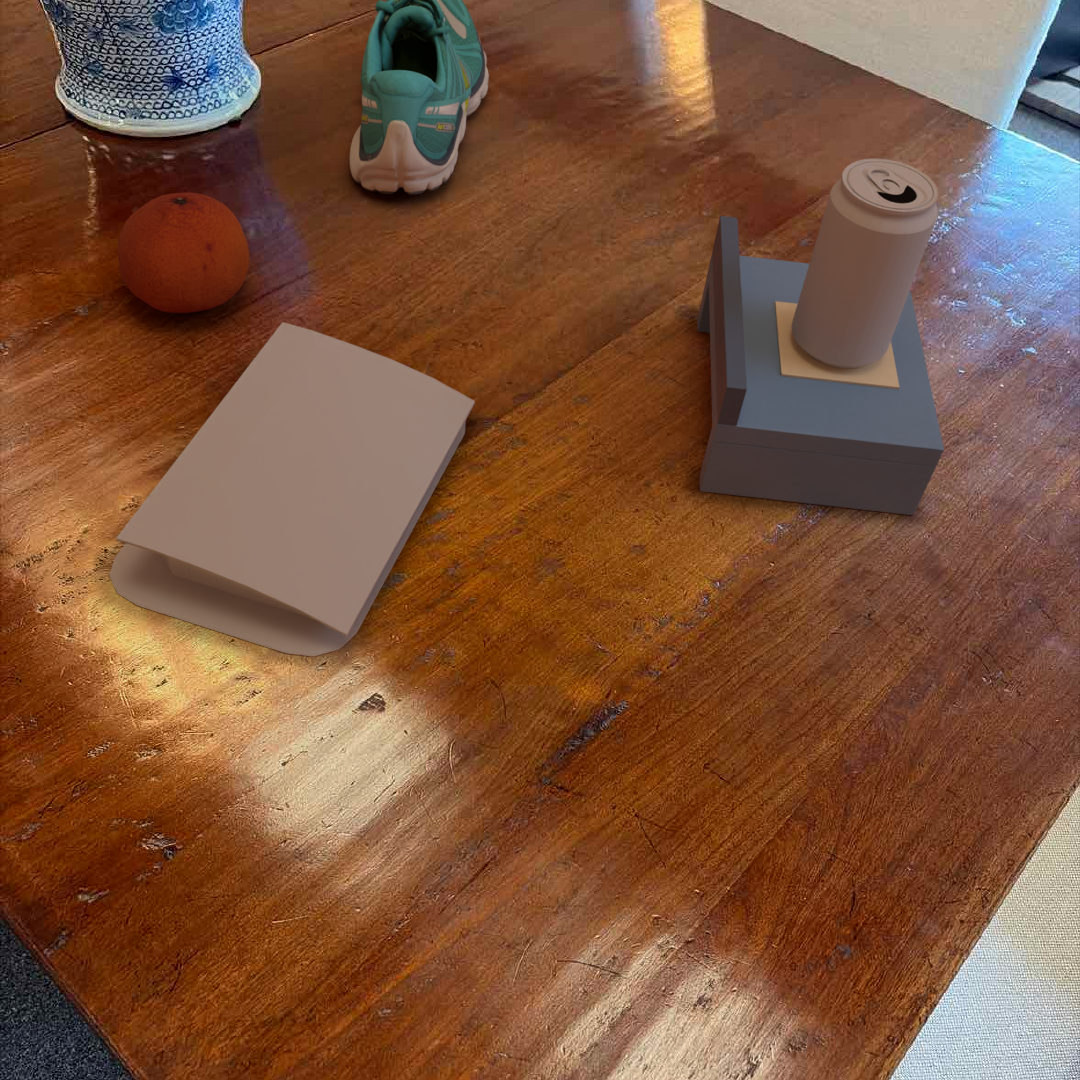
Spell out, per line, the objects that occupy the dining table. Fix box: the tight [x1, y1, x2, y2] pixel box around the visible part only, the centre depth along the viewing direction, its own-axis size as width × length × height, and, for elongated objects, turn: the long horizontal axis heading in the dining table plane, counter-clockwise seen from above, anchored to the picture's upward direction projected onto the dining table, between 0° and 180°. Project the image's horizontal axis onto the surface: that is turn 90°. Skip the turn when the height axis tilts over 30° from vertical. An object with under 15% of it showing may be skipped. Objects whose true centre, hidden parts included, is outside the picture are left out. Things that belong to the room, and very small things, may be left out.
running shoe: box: [349, 0, 490, 196], centre depth 101 cm, size 11×29×11 cm, turn 0°
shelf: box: [696, 215, 945, 516], centre depth 80 cm, size 14×18×9 cm
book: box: [108, 321, 476, 658], centre depth 73 cm, size 15×23×4 cm, turn 162°
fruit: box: [117, 191, 250, 314], centre depth 83 cm, size 9×9×8 cm
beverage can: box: [792, 158, 939, 369], centre depth 74 cm, size 6×6×12 cm
